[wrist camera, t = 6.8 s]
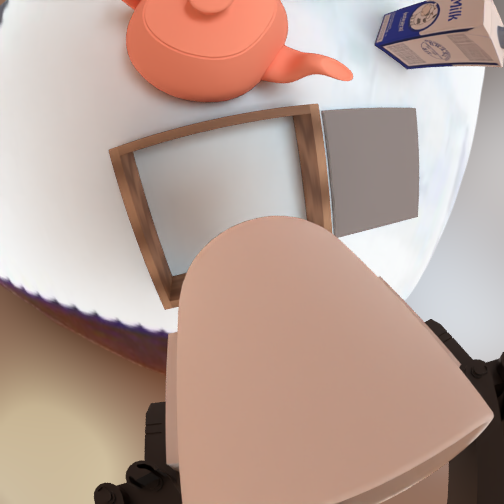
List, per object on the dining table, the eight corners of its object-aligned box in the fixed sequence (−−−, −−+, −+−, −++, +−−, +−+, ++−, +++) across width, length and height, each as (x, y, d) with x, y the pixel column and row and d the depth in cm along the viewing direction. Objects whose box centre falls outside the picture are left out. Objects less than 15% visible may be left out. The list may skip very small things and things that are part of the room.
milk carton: (384, 14, 26) (485, -14, 8) (416, 38, 28) (517, 29, 10) (374, 45, 28) (485, 25, 11) (407, 70, 30) (516, 69, 13)
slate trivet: (321, 111, 32) (324, 110, 31) (412, 108, 33) (415, 108, 33) (334, 235, 40) (336, 237, 40) (414, 215, 42) (417, 216, 41)
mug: (314, 378, 18) (371, 510, 9) (150, 318, 13) (137, 537, 4) (401, 288, 16) (509, 412, 6) (248, 170, 11) (451, 421, 2)
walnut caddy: (123, 145, 29) (108, 149, 24) (298, 105, 31) (318, 103, 26) (167, 284, 39) (164, 309, 33) (316, 246, 41) (333, 266, 35)
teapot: (329, 46, 28) (390, 21, 16) (266, 145, 33) (305, 160, 21) (164, -35, 19) (155, -91, 7) (91, 65, 24) (40, 42, 12)
